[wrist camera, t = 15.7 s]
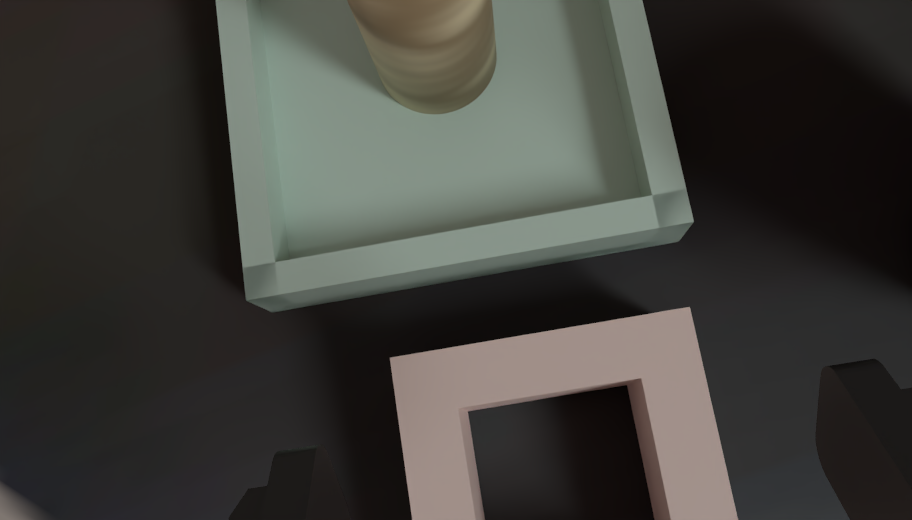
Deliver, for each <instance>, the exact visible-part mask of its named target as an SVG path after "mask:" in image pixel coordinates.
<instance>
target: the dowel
mask: <svg viewBox="0 0 912 520" xmlns="http://www.w3.org/2000/svg"><path fill="white" fill-rule="evenodd" d="M347 1H348V4H349V6H350V8H351V11H352V13H353V16H354V18H355V20H356V23H357V25H358V27H359V30H360V32H361V34H362V37H363V39H364V41H365V44H366V46H367V48H368V51H369V53H370V55H371V58H372V60H373V62H374V65H375V67H376V69H377V72H378V74H379V77H380V79H381V81H382V84H383V85H384V87H385V89H386V90H387V92H388V93H389V94H390V96H391V97H392V98H394V99H395V100H396V101H397V102H398V103H400V104H401V105H402V106H404V107H406V108H408V109H410V110H413V111H415V112H419V113H424V114H444V113H449V112H453V111H456V110H459V109H461V108H463V107H465V106H467V105H469V104H470V103H471V102H473V101H474V100H475V99H477V98H478V97H479V96H480V95H481V94H482V93H483V91H484V90H485V89H486V88H487V86H488V84H489V83H490V81H491V79H492V77H493V74H494V71H495V67H496V61H497V52H496V41H495V29H494V18H493V7H492V0H347Z"/></svg>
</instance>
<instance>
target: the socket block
mask: <svg viewBox="0 0 912 520" xmlns="http://www.w3.org/2000/svg"><path fill="white" fill-rule="evenodd" d="M390 364H391V371H392V378H393V385H394V392H395V400H396V407H397V414H398V421H399V428H400V435H401V443H402V450H403V457H404V464H405V471H406V478H407V486H408V493H409V500H410V507H411V514H412V520H485V517H484V511H483V504H482V498H481V492H480V486H479V479H478V473H477V467H476V460H475V454H474V448H473V441H472V435H471V429H470V423H469V416H468V411H473V410H479V409H485V408H491V407H497V406H503V405H509V404H515V403H521V402H527V401H533V400H539V399H545V398H552V397H558V396H564V395H570V394H576V393H582V392H588V391H594V390H600V389H606V388H612V387H618V386H624V385H627V387H628V392H629V397H630V402H631V407H632V412H633V417H634V422H635V427H636V432H637V436H638V441H639V446H640V451H641V456H642V461H643V466H644V471H645V476H646V481H647V485H648V490H649V495H650V500H651V505H652V510H653V515H654V520H738V518H737V514H736V509H735V505H734V500H733V496H732V491H731V487H730V483H729V478H728V474H727V469H726V465H725V461H724V456H723V452H722V447H721V443H720V438H719V434H718V430H717V425H716V421H715V416H714V412H713V408H712V403H711V399H710V394H709V390H708V385H707V381H706V377H705V372H704V368H703V363H702V359H701V355H700V350H699V346H698V341H697V337H696V332H695V328H694V324H693V319H692V315H691V310H690V307H686V308H681V309H675V310H669V311H663V312H657V313H651V314H645V315H639V316H633V317H627V318H621V319H616V320H610V321H604V322H598V323H592V324H586V325H580V326H574V327H568V328H562V329H557V330H551V331H545V332H539V333H533V334H527V335H521V336H515V337H509V338H503V339H497V340H492V341H486V342H480V343H474V344H468V345H462V346H456V347H450V348H444V349H438V350H433V351H427V352H421V353H415V354H409V355H403V356H397V357H391V358H390Z"/></svg>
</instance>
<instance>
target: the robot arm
mask: <svg viewBox="0 0 912 520" xmlns="http://www.w3.org/2000/svg"><path fill="white" fill-rule="evenodd" d="M816 446H817V452H818V456H819V459H820V462H821V465H822V468H823V470H824V473H825V475H826V477H827V478H828V480H829V482H830V484H831V486H832V488H833V489H834V491H835V493H836V495H837V497H838V498H839V500H840V502H841V504H842V506H843V508H844V509H845V511H846V513H847V515H848V517H849V518H850V520H912V388H908V389H900V388H899V386H898V385H897V384H896V382H895V381H894V380H893V378H892V377H891V375H890V374H889V373H888V371H887V370H886V369H885V367H884V366H883V365H882V364H881V363H880V362H879V361H877V360H876V359H870V360H864V361H857V362H851V363H845V364H838V365H832V366H826V367H824V368H823V369H822V372H821V377H820V388H819V400H818V411H817V423H816ZM229 520H350V514H349V510H348V506H347V503H346V500H345V498H344V495H343V492H342V490H341V487H340V485H339V482H338V479H337V477H336V474H335V472H334V469H333V466H332V464H331V461H330V459H329V456H328V453H327V451H326V449H325V447H324V446H323V445H315V446H309V447H303V448H296V449H290V450H284V451H278V452H276V454H275V456H274V458H273V462H272V466H271V471H270V476H269V481H268V485H267V486H264V487H258V488H251V489H248V490H247V492H246V493H245V495H244V496H243V498H242V499H241V500H240V502H239V503H238V505H237V506H236V508H235V509H234V511H233V512H232V514H231V515H230V517H229Z"/></svg>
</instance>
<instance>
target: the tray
mask: <svg viewBox="0 0 912 520" xmlns="http://www.w3.org/2000/svg"><path fill="white" fill-rule="evenodd" d="M492 7H493V18H494V29H495V41H496V52H497V61H496V67H495V71H494V74H493V77H492V79H491V81H490V83H489V84H488V86H487V88H486V89H485V90H484V91H483V93H482V94H481V95H480V96H479V97H478V98H477V99H475V100H474V101H473V102H471V103H470V104H469V105H467V106H465V107H463V108H461V109H459V110H456V111H453V112H449V113H444V114H424V113H419V112H415V111H413V110H410V109H408V108H406V107H404V106H402V105H401V104H400V103H398V102H397V101H396V100H395V99H394V98H392V97H391V96H390V94H389V93H388V92H387V90H386V89H385V87H384V85H383V84H382V81H381V79H380V77H379V74H378V72H377V69H376V67H375V65H374V62H373V60H372V58H371V55H370V53H369V51H368V48H367V46H366V44H365V41H364V39H363V37H362V34H361V32H360V30H359V27H358V25H357V23H356V20H355V18H354V16H353V13H352V11H351V8H350V6H349V4H348V1H347V0H216V9H217V19H218V29H219V39H220V49H221V59H222V68H223V78H224V88H225V98H226V108H227V118H228V128H229V138H230V148H231V158H232V168H233V177H234V187H235V197H236V207H237V217H238V227H239V237H240V247H241V257H242V267H243V276H244V286H245V296H246V301H248V302H251V303H253V304H255V305H257V306H259V307H261V308H264V309H266V310H268V311H270V312H278V311H284V310H290V309H295V308H301V307H307V306H313V305H318V304H324V303H330V302H336V301H341V300H347V299H353V298H359V297H364V296H370V295H376V294H382V293H387V292H393V291H399V290H405V289H410V288H416V287H422V286H428V285H433V284H439V283H445V282H451V281H456V280H462V279H468V278H474V277H479V276H485V275H491V274H497V273H502V272H508V271H514V270H520V269H525V268H531V267H537V266H543V265H548V264H554V263H560V262H565V261H571V260H577V259H583V258H588V257H594V256H600V255H606V254H611V253H617V252H623V251H629V250H634V249H640V248H646V247H652V246H657V245H663V244H669V243H675V242H679V241H680V239H681V238H682V237H683V235H684V234H685V233H686V231H687V230H688V229H689V228H690V226H691V225H692V224H693V222H694V220H693V216H692V211H691V207H690V203H689V198H688V194H687V190H686V186H685V181H684V177H683V173H682V168H681V164H680V160H679V156H678V151H677V147H676V143H675V138H674V134H673V130H672V126H671V121H670V117H669V113H668V108H667V104H666V100H665V96H664V91H663V87H662V83H661V78H660V74H659V70H658V66H657V61H656V57H655V53H654V48H653V44H652V40H651V35H650V31H649V27H648V23H647V18H646V14H645V10H644V5H643V1H642V0H492Z"/></svg>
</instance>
